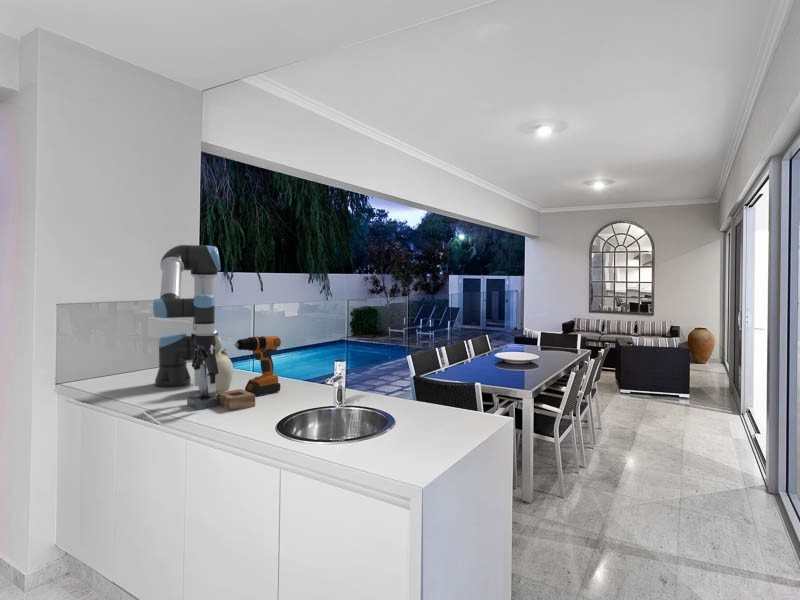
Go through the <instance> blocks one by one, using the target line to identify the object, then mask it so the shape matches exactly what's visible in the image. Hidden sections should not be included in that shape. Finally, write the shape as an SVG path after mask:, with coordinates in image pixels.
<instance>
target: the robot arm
mask: <svg viewBox="0 0 800 600" xmlns="http://www.w3.org/2000/svg"><path fill="white" fill-rule="evenodd" d="M160 270H161V272H162V274H161V281H160V282H161V283H160V295H159V298H155V299H154V300H153V302H152V310H153V312H152V314H153V317H154V318H159V319H162V318H163V319H169V318H173V319H174V318H178V319H179V318H193V326H192V329H193V330H192V331H191V334H190V335H187V332H176V333H169V334H166V335H162V336H161V337H159V339H158V347H157V348H158V370H157V373H156V376H155V379H154V385H155V386H156V387H159V388H174V387H175V388H176V387H181V386H182V387H183V386H186V385H189V384H191V381H192V380H191V378H192V377H191V376H190V372H189V369H188V367H187V365H188V364H187V362H188V361H189V362H190V361H192V362H191V367H192V368H193V371H194V374H193V376H194V377H193V378H194V380H193V381H194V383H193V384H194V385H193V386H194V387H199V386H200V364H202V363H203V361H205V363H206V366H207V369H208V374H207V376H208V392H216V374H218V373H219V372H218V366H217V361H216V356H215V349H216V341H215V335H217V336H218V337H219V338H220V340H221V339H222V338H221V337H222V336H221V335H220V334H218V330H217V329H216V323H215V317H216V316H215V315H216V314H215V309H216V308H215V305H216V301H215V278H216V277H217V276H218V272H220V271H221V261H220V255H219V249H218V247H217V246H215V245H214V246H213V245H206V244H205V245H199V244H198V245H196V244H195V245H193V244H191V245H189V244H187V245H186V244H179V245H176V246H174V247H171V248H170V249H169V250H167V251H166V252H165V253H164V254H163V256H162V257H161V261H160ZM184 271H190V275H191V276H192V278H193V279H194V281H193V282H194V284H193V285H194V286H193V287H194V288H193V289H194V290H193V291H194V293H193V295H194V296H193V298H181V295H182V294H181V293H182V292H181V291H182V273H183V272H184ZM221 341H222V340H221ZM211 345H213V347H214V348H212V349H211Z"/></svg>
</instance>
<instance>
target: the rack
mask: <svg viewBox="0 0 800 600" xmlns="http://www.w3.org/2000/svg"><path fill="white" fill-rule="evenodd" d="M216 395H217V397H219V398H220V406H219V407H222V408H224V409H225V410H228V411H229V412H232V411H237V410H242V409H248V408H252V407H256V396H255V394H252V393H250V392H247V391H245V389H241V388H239V389H234V390H228V391H225V392H220V393H216Z"/></svg>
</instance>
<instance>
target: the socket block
mask: <svg viewBox="0 0 800 600" xmlns="http://www.w3.org/2000/svg"><path fill="white" fill-rule="evenodd" d="M186 405H187V406H188V407H190V408H192V409H194V410H196V411H200V410H205V409H210V408H216V407H217V408H218V407H221V406H220V398H219V397H217V393H209V398H207V399H201V396H200V394H198V395H190V396H186Z"/></svg>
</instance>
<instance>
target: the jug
mask: <svg viewBox="0 0 800 600" xmlns="http://www.w3.org/2000/svg"><path fill="white" fill-rule="evenodd" d="M215 341H216V349H215V356H216V361H217V366H218V372H219V373H218V374H216V392H209V394H210V393H213V394H217V393H220V392H226V391H230V388H231V384H232V380H233V375H234V365H233V363H232V360H231V359H230V358H229V357H228V356H227V355H228V354H229V353H228V348H224V349H223V350H221V349H222V340H220V338H219V337H218V336H217V335H215ZM212 348H214V347H213V345H211V349H212ZM220 351H221V352H220ZM202 364H206V363H205V361H203V363H202ZM198 389H199V390H200V386H198Z"/></svg>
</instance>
